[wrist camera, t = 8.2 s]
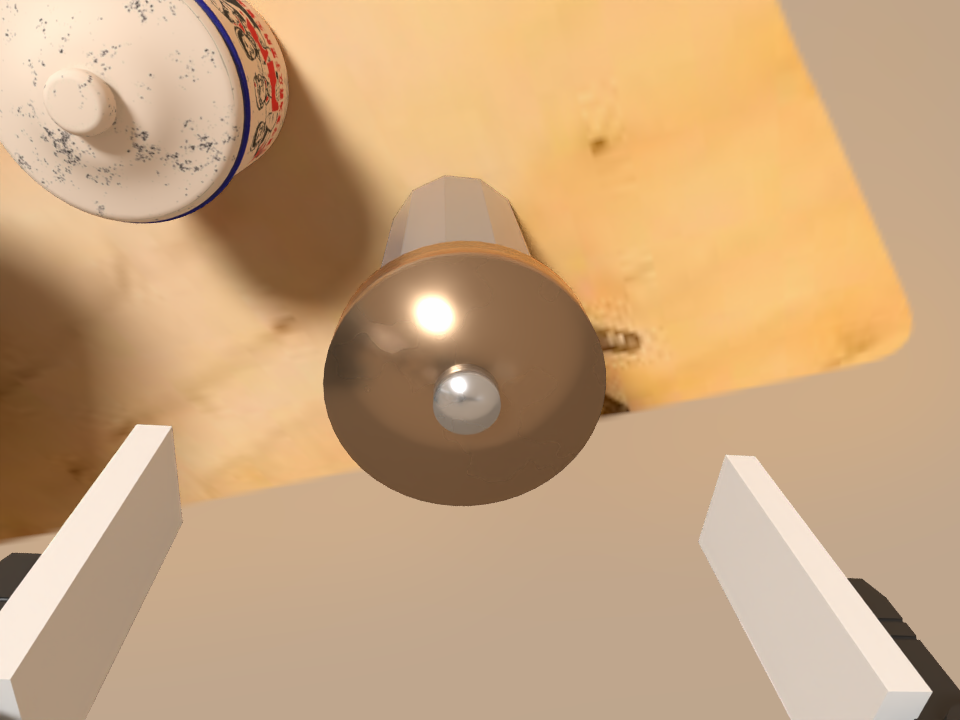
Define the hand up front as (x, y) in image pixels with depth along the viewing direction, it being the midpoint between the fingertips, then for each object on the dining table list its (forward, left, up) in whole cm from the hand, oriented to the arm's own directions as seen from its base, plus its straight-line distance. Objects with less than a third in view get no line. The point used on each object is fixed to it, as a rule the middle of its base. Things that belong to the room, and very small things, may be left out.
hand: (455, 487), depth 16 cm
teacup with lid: (-13, +8, -21) cm, 26 cm away
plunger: (0, 0, -18) cm, 18 cm away
